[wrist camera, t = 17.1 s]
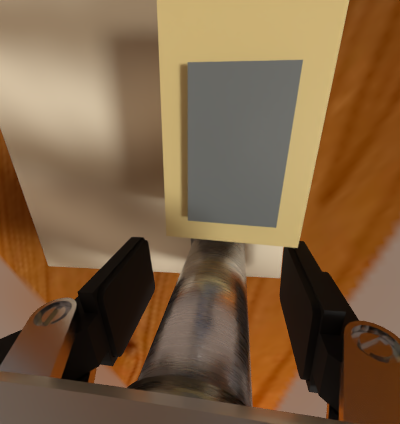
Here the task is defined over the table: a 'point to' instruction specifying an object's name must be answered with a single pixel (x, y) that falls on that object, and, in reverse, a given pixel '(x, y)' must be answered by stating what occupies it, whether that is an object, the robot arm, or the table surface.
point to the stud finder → (243, 113)
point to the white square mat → (92, 130)
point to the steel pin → (204, 330)
